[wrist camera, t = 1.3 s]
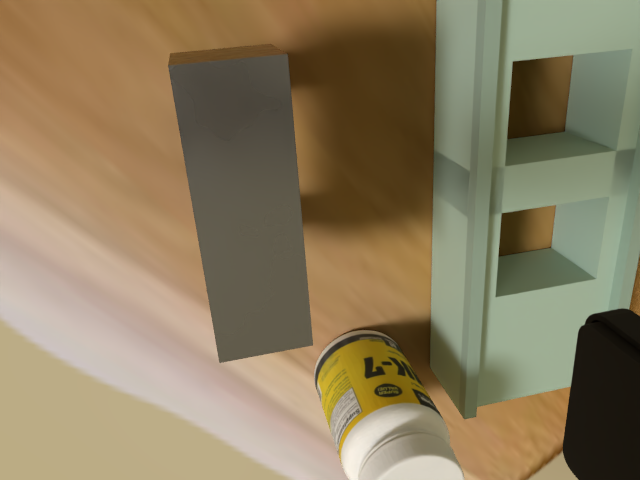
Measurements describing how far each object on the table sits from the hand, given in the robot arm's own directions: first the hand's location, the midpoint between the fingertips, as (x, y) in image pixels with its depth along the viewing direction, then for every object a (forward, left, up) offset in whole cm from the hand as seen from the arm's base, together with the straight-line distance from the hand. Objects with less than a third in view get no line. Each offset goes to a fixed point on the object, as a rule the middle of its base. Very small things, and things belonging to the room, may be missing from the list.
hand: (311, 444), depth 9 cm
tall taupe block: (0, 0, -16) cm, 16 cm away
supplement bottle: (+12, +5, -17) cm, 21 cm away
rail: (+2, +13, -16) cm, 21 cm away
